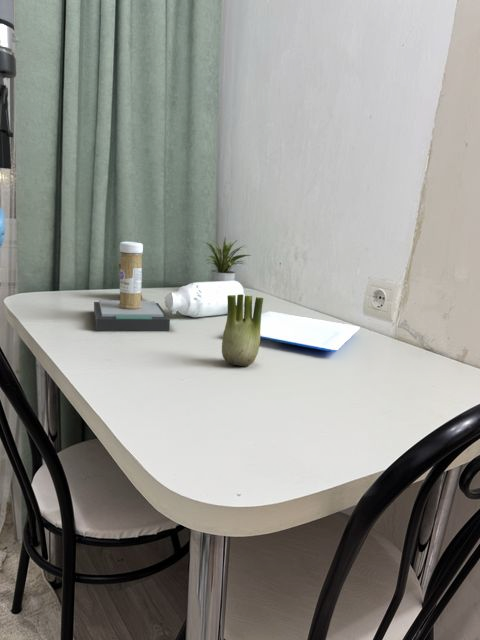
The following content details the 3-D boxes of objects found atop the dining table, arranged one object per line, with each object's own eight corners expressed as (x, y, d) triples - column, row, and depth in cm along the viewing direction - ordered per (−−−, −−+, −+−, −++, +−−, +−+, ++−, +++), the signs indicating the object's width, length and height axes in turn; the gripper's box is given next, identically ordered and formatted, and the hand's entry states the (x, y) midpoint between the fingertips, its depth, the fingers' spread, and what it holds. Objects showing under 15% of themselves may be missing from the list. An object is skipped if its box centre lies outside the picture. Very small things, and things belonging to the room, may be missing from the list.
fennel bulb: (259, 363, 87) (266, 294, 83) (250, 371, 82) (256, 299, 79) (228, 357, 88) (233, 289, 85) (217, 365, 84) (222, 293, 81)
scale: (93, 312, 112) (93, 299, 111) (157, 313, 117) (158, 300, 116) (96, 331, 97) (96, 315, 97) (169, 330, 102) (170, 316, 101)
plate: (359, 335, 113) (360, 326, 113) (335, 359, 93) (337, 349, 92) (266, 319, 121) (267, 310, 120) (226, 338, 100) (226, 328, 100)
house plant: (214, 299, 139) (218, 238, 134) (186, 289, 149) (189, 233, 144) (253, 296, 148) (258, 239, 144) (224, 287, 158) (228, 234, 153)
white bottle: (158, 315, 114) (159, 280, 112) (223, 309, 127) (225, 277, 125) (177, 323, 109) (179, 287, 106) (244, 316, 121) (246, 283, 119)
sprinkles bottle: (114, 306, 106) (114, 241, 102) (131, 304, 109) (132, 241, 105) (129, 310, 103) (130, 243, 99) (146, 308, 107) (147, 243, 103)
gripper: (8, 39, 88) (13, 167, 94) (21, 68, 110) (25, 170, 116) (-42, 30, 85) (-32, 162, 91) (-18, 62, 108) (-12, 167, 114)
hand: (0, 167), depth 104 cm, fingers open, 13 cm apart
